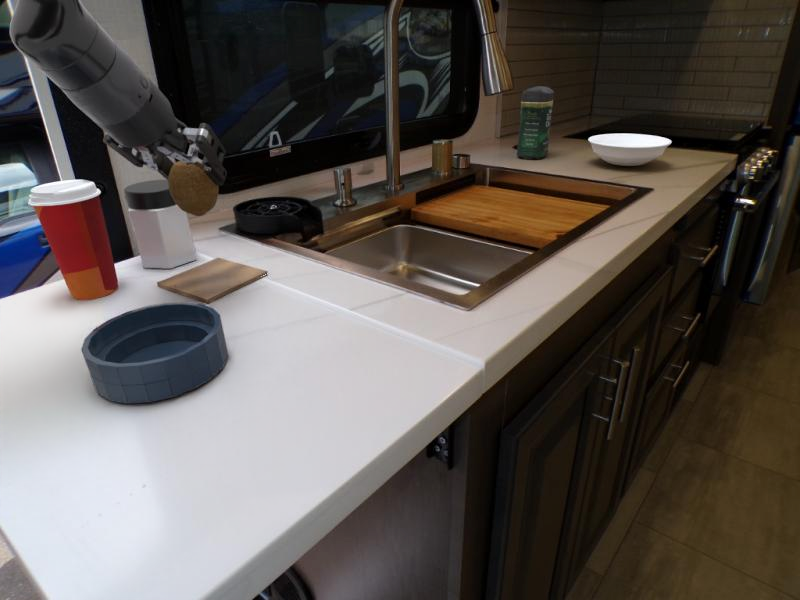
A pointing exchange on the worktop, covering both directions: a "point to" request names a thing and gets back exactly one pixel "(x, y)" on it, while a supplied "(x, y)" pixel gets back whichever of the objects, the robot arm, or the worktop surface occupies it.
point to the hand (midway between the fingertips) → (199, 178)
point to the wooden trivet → (212, 279)
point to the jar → (159, 225)
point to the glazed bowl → (155, 352)
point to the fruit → (192, 189)
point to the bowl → (628, 148)
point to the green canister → (535, 122)
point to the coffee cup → (77, 236)
